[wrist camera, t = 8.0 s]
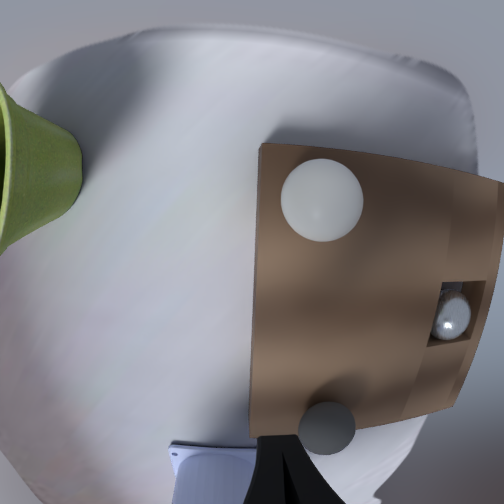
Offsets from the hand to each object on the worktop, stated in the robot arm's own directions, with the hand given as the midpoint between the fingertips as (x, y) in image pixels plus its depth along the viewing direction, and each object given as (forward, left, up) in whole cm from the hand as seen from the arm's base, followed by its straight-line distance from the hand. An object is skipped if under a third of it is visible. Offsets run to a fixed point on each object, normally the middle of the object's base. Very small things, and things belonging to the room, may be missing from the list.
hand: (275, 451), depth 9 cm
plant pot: (+10, +14, -10) cm, 20 cm away
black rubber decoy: (-5, -4, -5) cm, 8 cm away
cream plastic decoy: (+8, -2, -5) cm, 10 cm away
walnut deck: (+2, -8, -9) cm, 13 cm away
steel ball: (+2, -13, -8) cm, 15 cm away
